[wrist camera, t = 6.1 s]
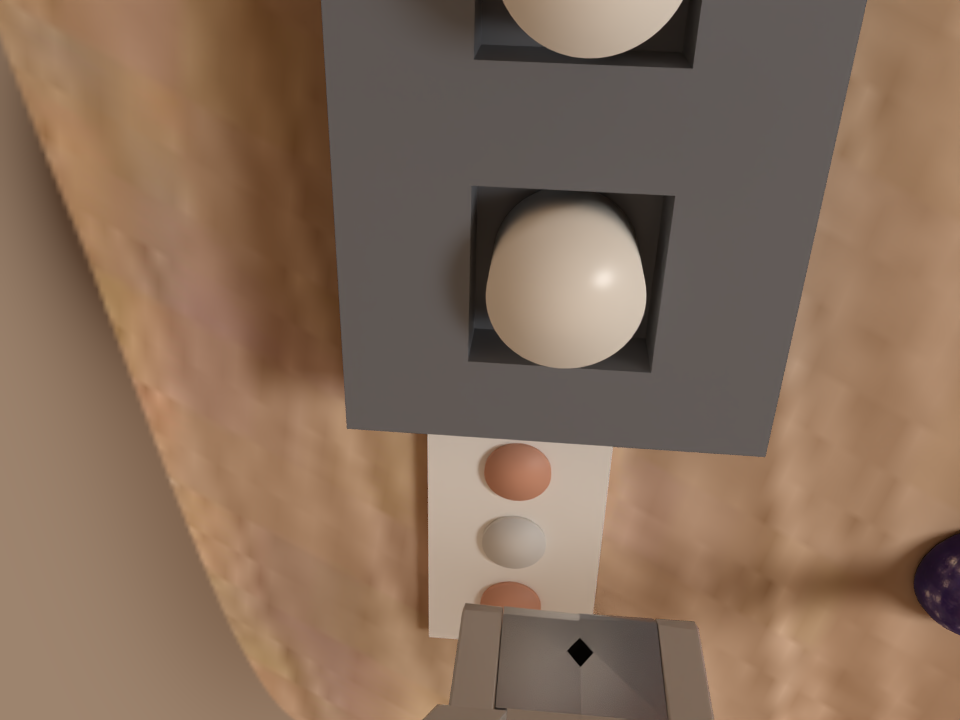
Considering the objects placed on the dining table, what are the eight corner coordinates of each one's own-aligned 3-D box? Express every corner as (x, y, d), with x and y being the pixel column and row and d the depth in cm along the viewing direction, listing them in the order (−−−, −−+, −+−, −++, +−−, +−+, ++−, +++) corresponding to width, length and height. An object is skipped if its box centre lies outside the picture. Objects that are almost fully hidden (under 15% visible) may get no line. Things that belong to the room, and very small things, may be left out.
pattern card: (428, 407, 29) (426, 417, 28) (614, 419, 28) (615, 429, 28) (430, 629, 34) (428, 641, 33) (588, 641, 33) (588, 654, 33)
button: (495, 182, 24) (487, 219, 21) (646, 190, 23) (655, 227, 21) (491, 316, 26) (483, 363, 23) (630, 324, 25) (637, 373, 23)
